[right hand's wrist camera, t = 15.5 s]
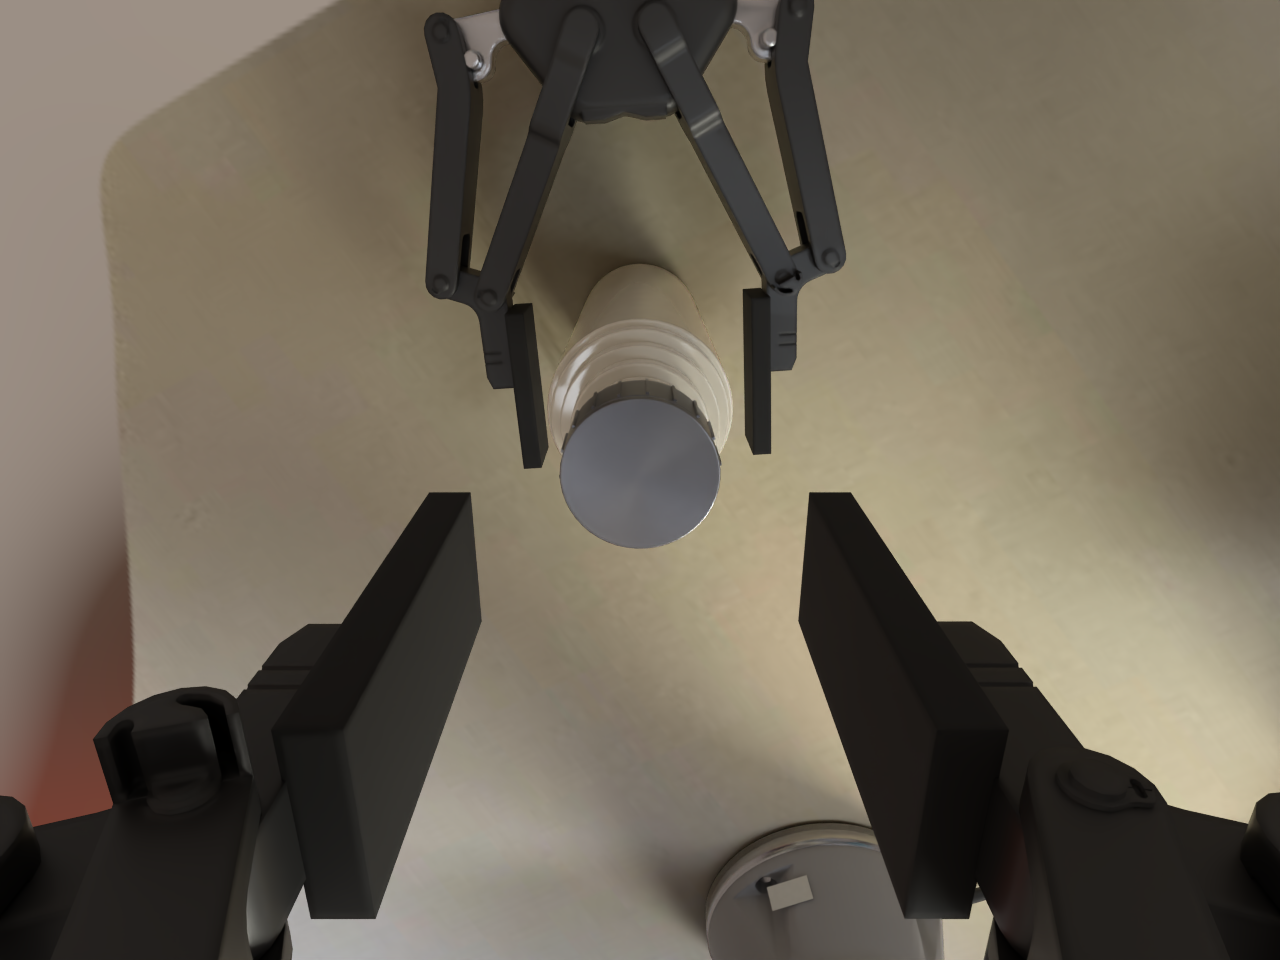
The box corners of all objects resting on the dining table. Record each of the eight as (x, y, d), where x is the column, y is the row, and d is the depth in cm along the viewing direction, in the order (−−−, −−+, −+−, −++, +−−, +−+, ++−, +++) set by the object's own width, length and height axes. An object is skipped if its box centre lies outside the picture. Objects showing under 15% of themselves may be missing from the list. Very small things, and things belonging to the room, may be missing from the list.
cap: (541, 486, 21) (532, 514, 19) (602, 351, 19) (599, 368, 18) (674, 542, 21) (677, 574, 20) (741, 415, 20) (751, 438, 18)
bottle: (564, 350, 39) (489, 521, 19) (611, 243, 37) (579, 315, 18) (666, 397, 40) (692, 605, 20) (717, 294, 38) (798, 416, 18)
